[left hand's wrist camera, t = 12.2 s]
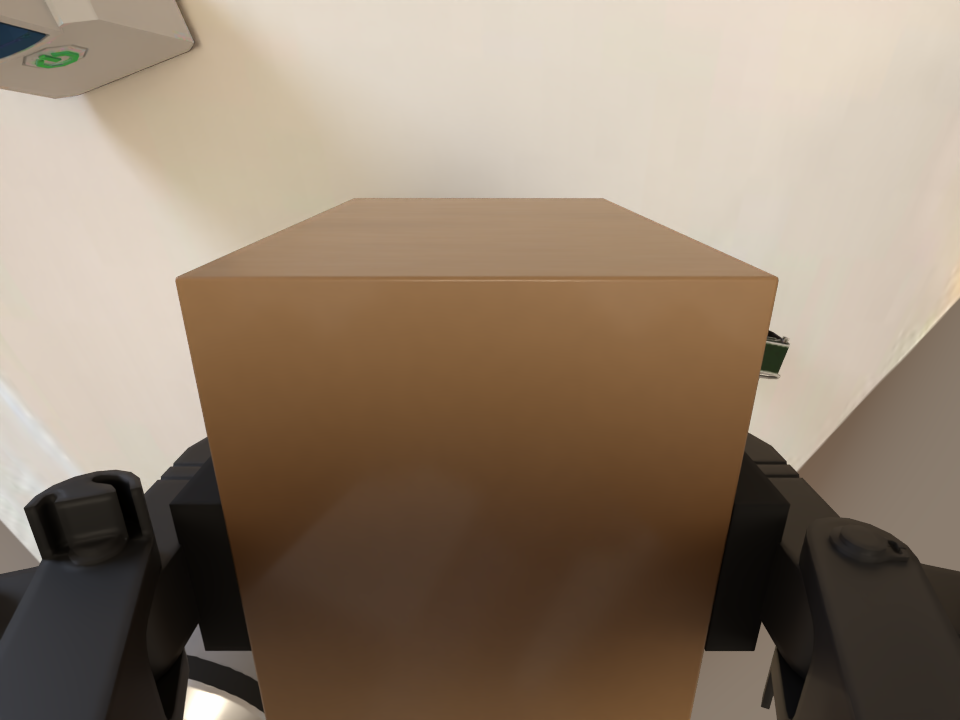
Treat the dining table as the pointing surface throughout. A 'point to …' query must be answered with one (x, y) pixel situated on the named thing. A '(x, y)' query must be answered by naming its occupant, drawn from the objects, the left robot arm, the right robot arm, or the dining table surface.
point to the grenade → (773, 355)
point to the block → (477, 454)
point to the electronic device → (84, 42)
